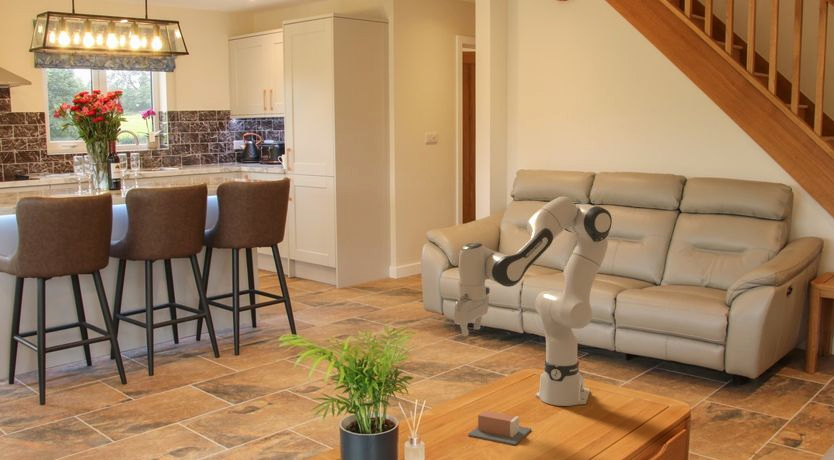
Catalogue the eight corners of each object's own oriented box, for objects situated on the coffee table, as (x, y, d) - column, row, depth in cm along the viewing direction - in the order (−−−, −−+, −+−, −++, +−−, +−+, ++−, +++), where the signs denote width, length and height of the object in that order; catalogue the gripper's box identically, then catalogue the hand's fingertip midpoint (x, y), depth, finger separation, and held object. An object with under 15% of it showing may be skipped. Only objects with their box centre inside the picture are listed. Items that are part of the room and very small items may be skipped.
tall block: (484, 410, 259) (518, 416, 254) (484, 425, 260) (518, 431, 254) (478, 415, 255) (513, 421, 249) (478, 430, 255) (512, 437, 250)
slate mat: (485, 421, 264) (485, 419, 264) (531, 430, 257) (531, 428, 257) (468, 435, 252) (468, 434, 252) (515, 445, 245) (515, 443, 245)
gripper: (466, 298, 254) (466, 340, 256) (492, 287, 272) (491, 326, 274) (449, 296, 257) (449, 338, 259) (475, 285, 275) (474, 324, 277)
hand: (471, 332), depth 267 cm, fingers open, 8 cm apart
